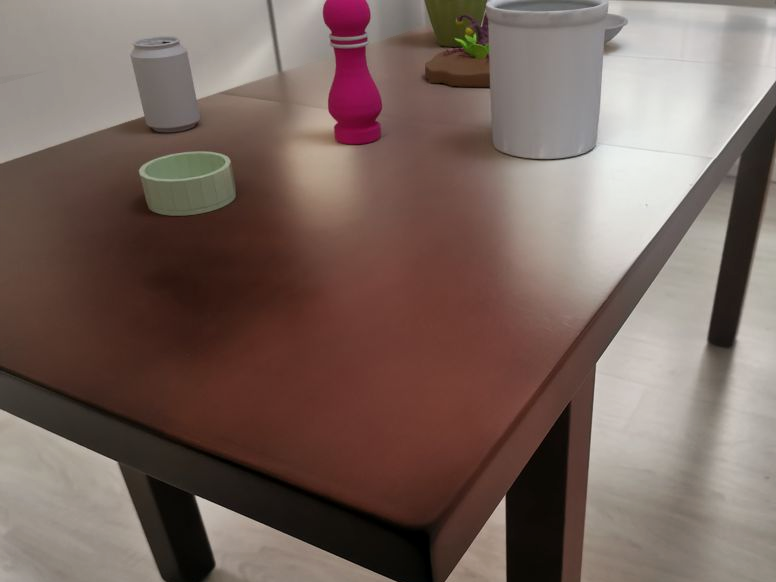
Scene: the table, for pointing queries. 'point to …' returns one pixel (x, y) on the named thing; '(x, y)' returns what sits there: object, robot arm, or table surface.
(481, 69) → the plant
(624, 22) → the dish
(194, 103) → the can
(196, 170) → the ramekin
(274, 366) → the table surface
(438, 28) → the flower pot
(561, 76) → the utensil holder
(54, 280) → the table surface
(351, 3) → the pepper mill
